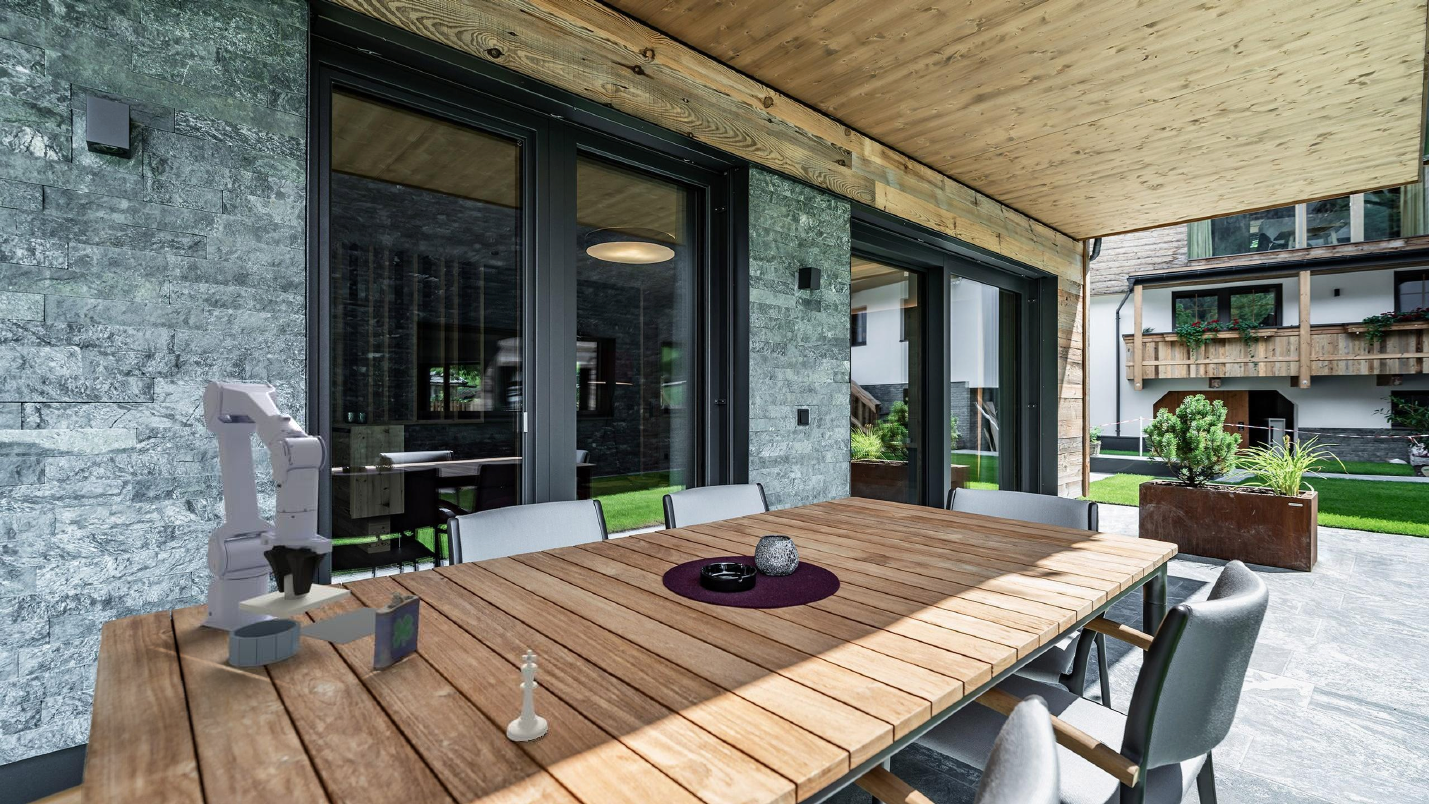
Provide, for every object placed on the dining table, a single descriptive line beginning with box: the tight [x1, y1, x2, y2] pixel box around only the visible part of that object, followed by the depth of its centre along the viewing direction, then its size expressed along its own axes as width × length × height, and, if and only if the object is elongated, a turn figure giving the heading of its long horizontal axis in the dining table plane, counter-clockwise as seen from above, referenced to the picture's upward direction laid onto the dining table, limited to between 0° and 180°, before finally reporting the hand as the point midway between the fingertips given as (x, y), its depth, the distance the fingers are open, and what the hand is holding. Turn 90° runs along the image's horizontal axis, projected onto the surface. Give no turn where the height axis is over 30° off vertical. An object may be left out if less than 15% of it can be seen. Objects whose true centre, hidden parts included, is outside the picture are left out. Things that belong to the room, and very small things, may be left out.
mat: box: [300, 606, 380, 646], centre depth 112 cm, size 14×15×1 cm
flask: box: [373, 590, 421, 672], centre depth 98 cm, size 9×3×11 cm, turn 172°
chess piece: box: [506, 649, 549, 742], centre depth 77 cm, size 5×5×10 cm
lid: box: [239, 574, 351, 619], centre depth 102 cm, size 11×11×4 cm
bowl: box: [228, 618, 301, 668], centre depth 97 cm, size 9×9×4 cm
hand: (294, 592), depth 101 cm, fingers closed on lid, 3 cm apart
